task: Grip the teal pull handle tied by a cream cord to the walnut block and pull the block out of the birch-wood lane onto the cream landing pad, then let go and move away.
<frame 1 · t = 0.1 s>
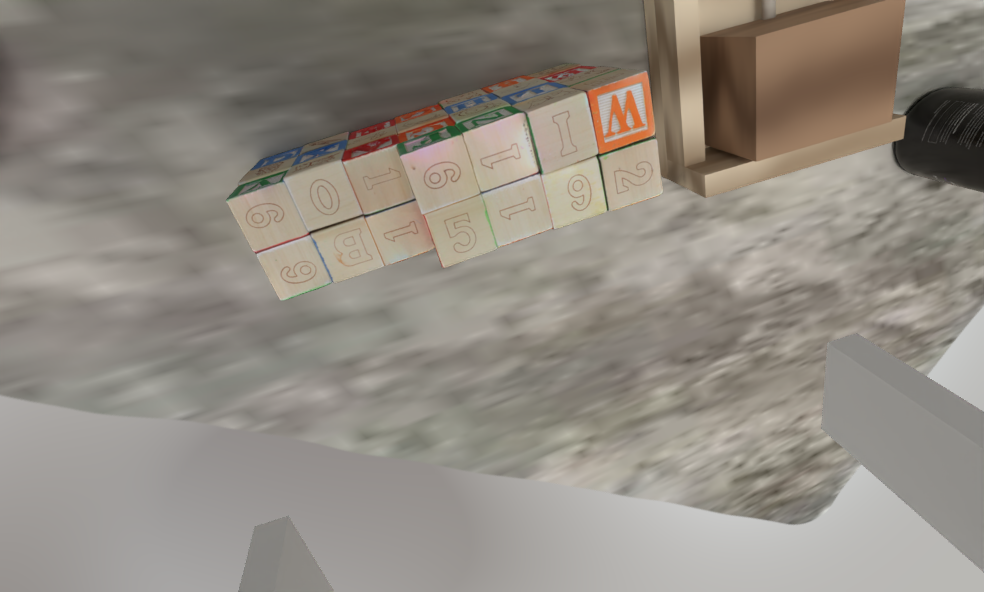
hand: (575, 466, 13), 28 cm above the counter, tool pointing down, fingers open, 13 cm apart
supplement bottle: (927, 131, 43), on the counter
stack of blocks: (430, 154, 37), on the counter
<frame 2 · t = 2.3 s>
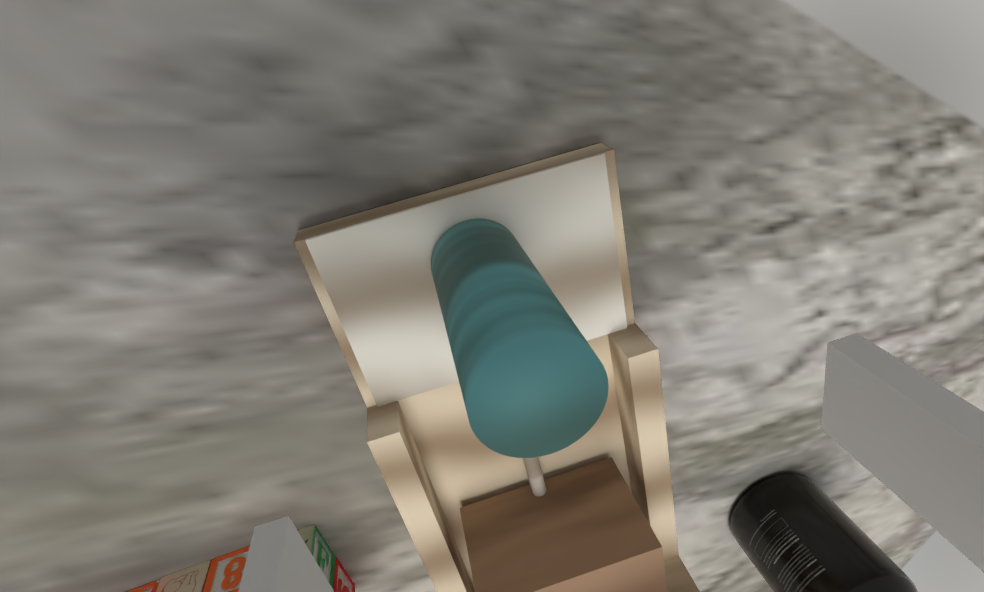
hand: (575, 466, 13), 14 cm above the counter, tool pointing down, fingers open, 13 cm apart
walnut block: (547, 496, 24), point 7 cm above the counter, slide at 0.0 cm
supplement bottle: (768, 503, 39), on the counter
lane board: (513, 406, 30), on the counter
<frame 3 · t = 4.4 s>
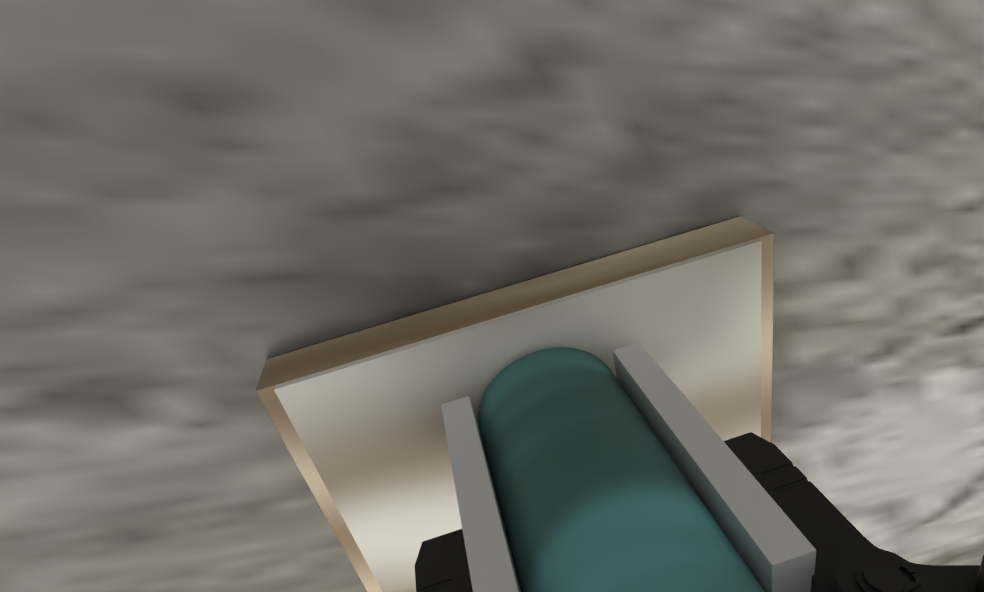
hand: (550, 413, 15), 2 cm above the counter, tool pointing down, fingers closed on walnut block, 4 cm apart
lane board: (580, 571, 21), on the counter
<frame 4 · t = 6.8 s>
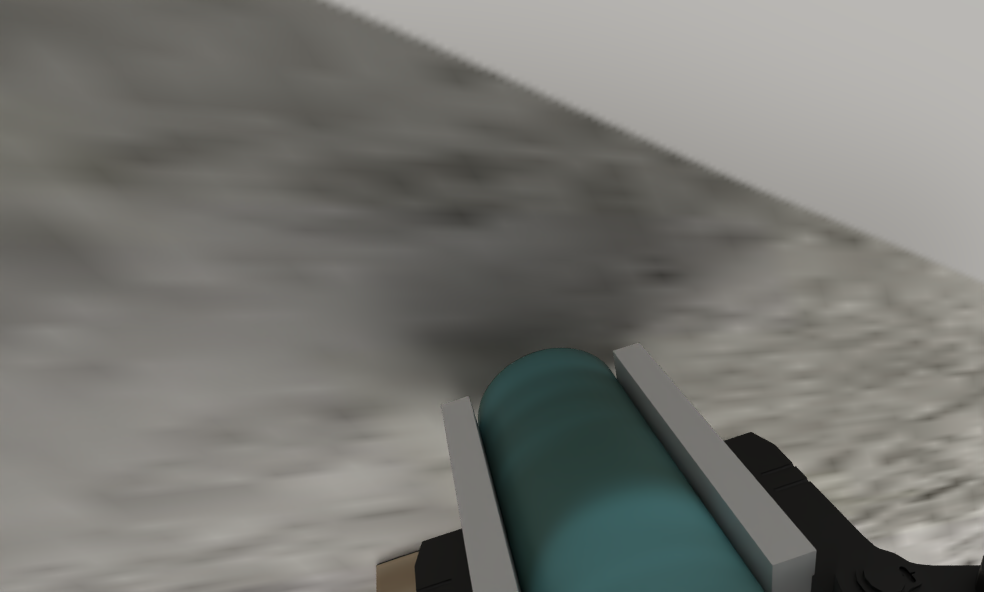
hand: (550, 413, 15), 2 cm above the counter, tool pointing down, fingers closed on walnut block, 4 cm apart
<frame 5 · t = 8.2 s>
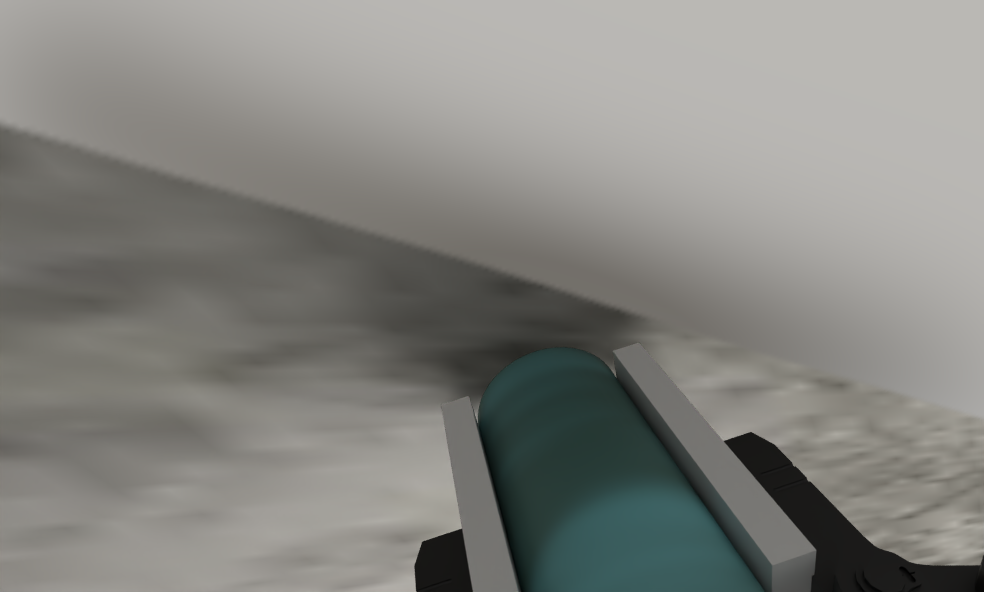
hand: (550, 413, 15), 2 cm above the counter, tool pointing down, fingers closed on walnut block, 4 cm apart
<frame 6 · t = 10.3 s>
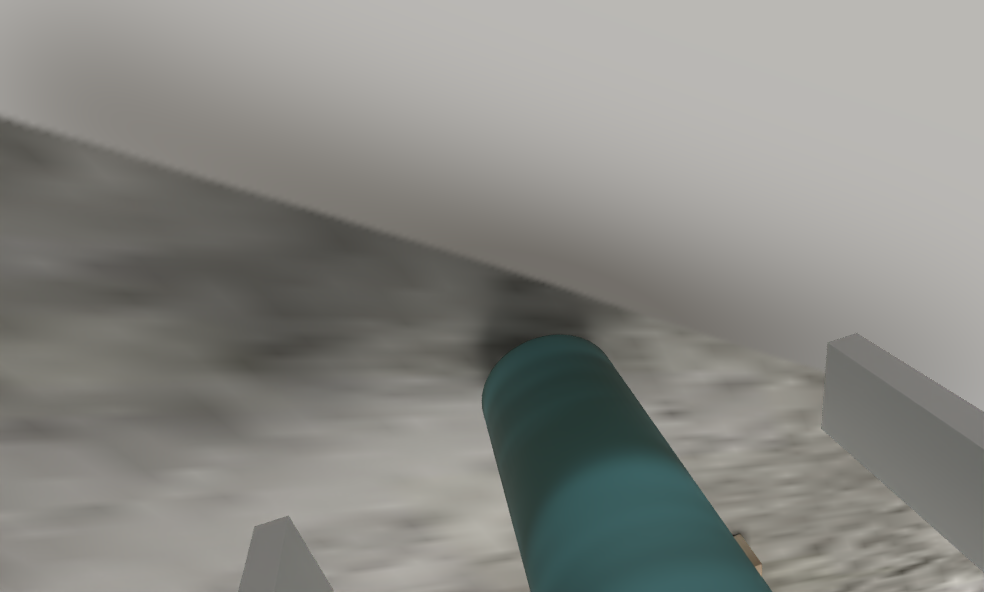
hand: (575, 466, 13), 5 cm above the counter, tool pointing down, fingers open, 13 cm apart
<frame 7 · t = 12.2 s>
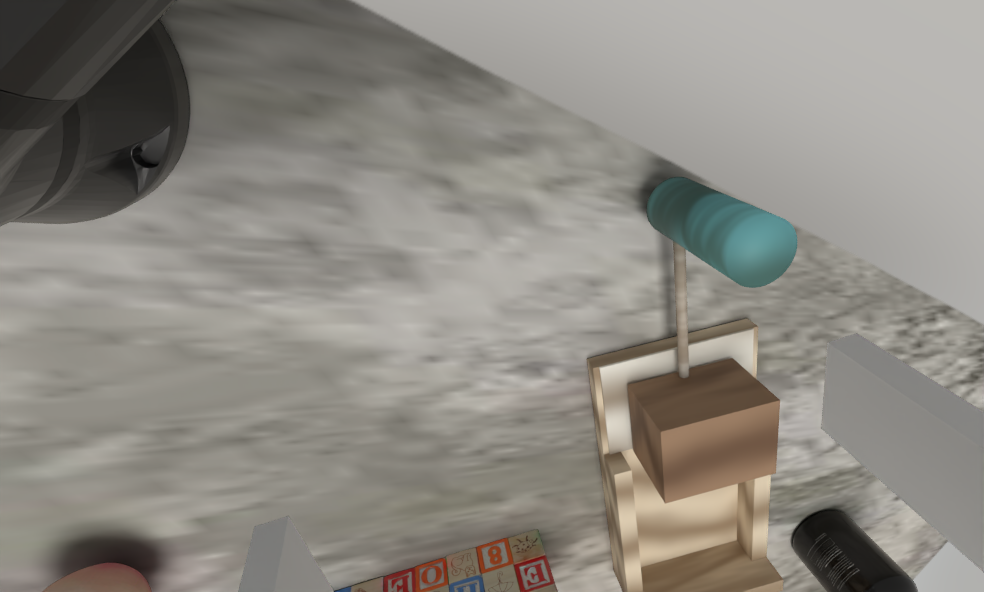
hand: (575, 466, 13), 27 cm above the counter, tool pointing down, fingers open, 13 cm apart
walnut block: (712, 355, 37), point 7 cm above the counter, slide at 15.0 cm
supplement bottle: (818, 530, 58), on the counter
lane board: (673, 457, 50), on the counter
stack of blocks: (438, 579, 52), on the counter
decorative fruit: (117, 568, 45), on the counter
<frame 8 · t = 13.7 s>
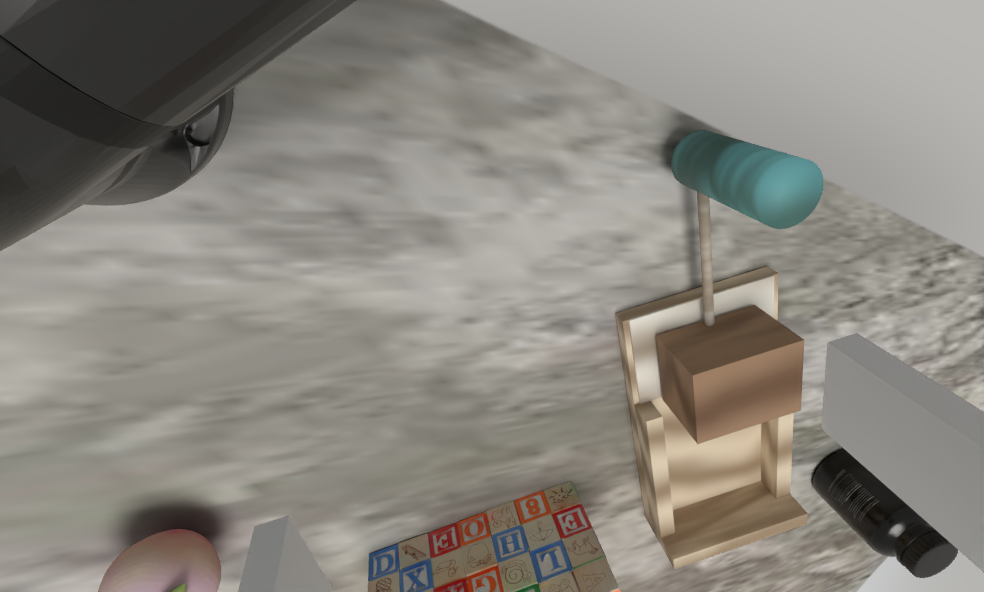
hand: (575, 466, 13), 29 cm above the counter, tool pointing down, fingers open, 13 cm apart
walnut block: (739, 300, 39), point 7 cm above the counter, slide at 15.0 cm
supplement bottle: (836, 468, 61), on the counter
lane board: (699, 404, 52), on the counter
stack of blocks: (479, 533, 55), on the counter
decorative fruit: (180, 535, 48), on the counter
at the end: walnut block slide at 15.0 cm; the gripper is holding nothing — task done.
